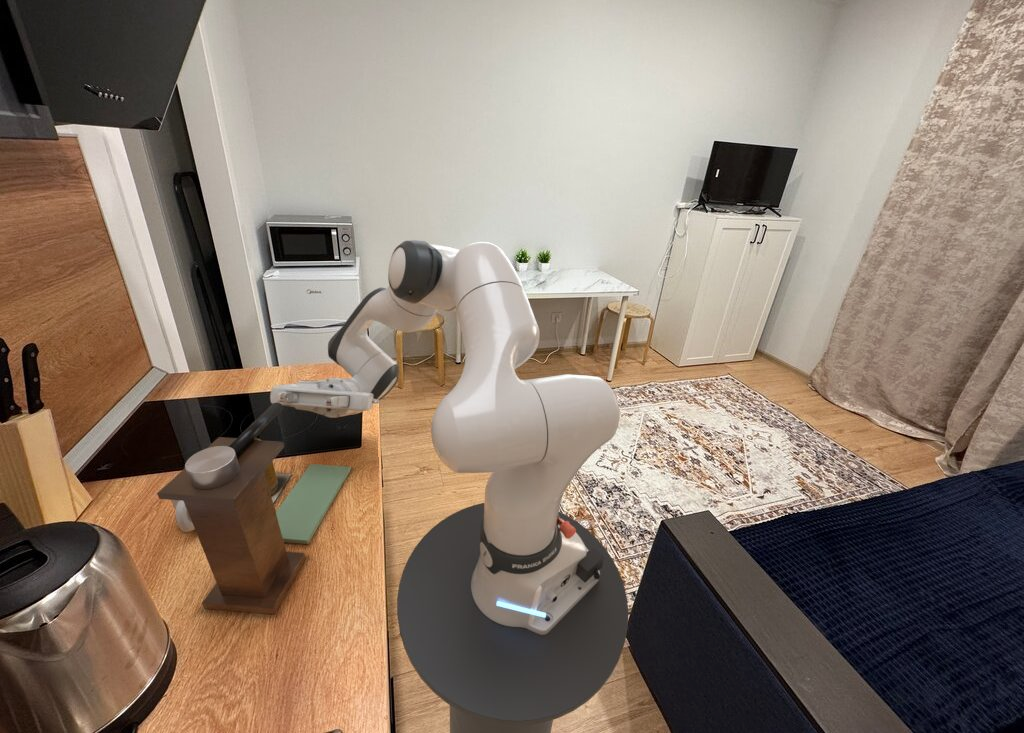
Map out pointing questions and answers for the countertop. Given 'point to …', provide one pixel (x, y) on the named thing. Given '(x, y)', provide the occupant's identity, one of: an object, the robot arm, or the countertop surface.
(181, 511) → the cup
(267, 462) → the stand
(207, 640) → the countertop surface
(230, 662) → the countertop surface
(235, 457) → the measuring scoop
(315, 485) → the mat
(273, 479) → the condiment
